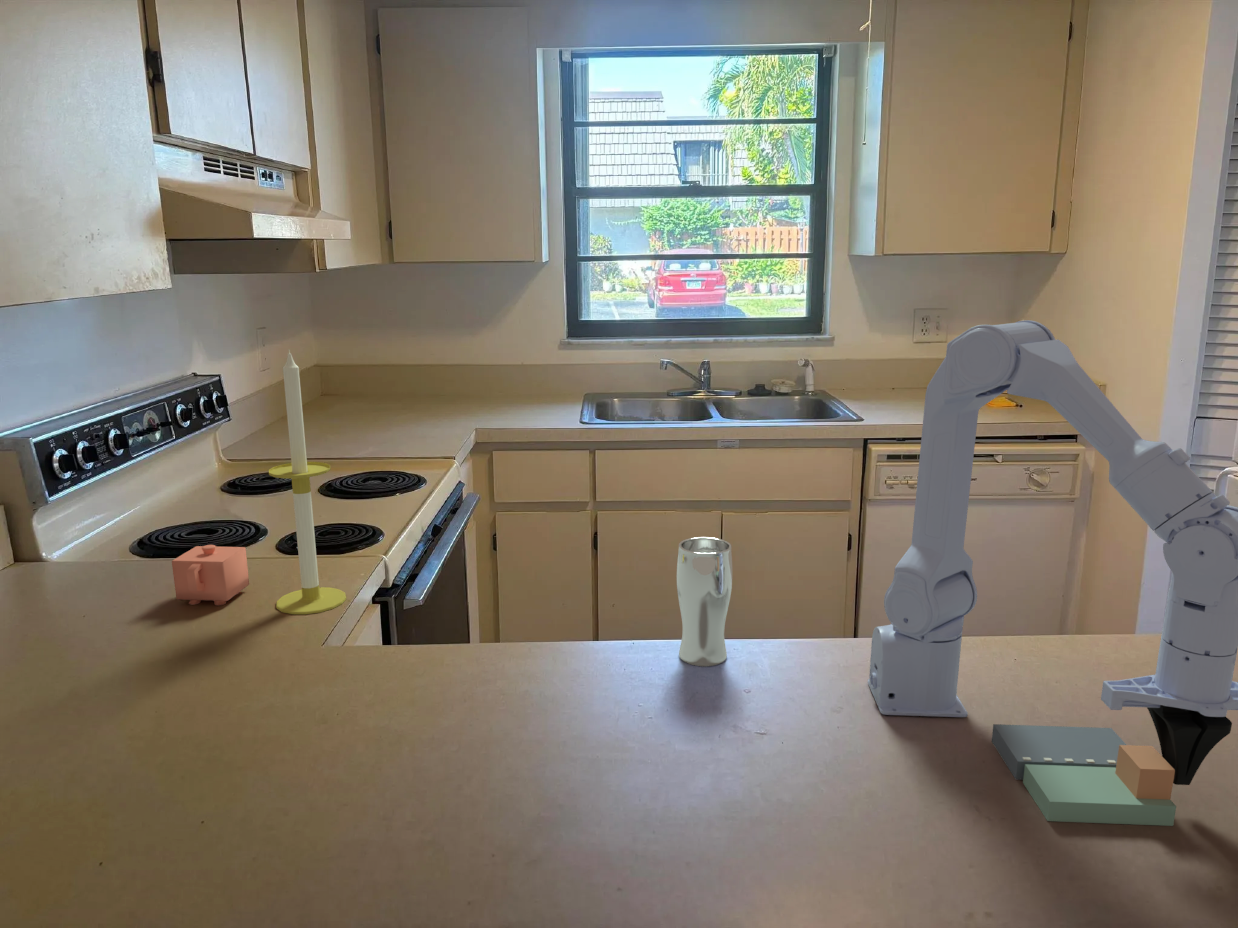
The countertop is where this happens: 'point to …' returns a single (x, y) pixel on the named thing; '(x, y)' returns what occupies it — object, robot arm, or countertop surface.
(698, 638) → the beer glass
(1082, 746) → the white-dotted slate slab
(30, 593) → the countertop surface
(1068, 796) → the pale green flat slab
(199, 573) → the pink cube teapot
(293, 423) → the candle
